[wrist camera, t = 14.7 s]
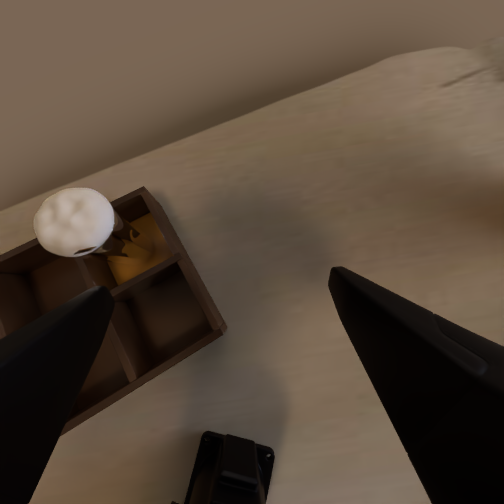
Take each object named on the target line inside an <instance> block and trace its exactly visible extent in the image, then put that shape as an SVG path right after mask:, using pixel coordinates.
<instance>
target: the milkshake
mask: <svg viewBox="0 0 504 504" xmlns="http://www.w3.org/2000/svg"><path fill="white" fill-rule="evenodd" d="M33 225H34V231H35V234H36V236H37V239H38V241H39V243H40V244H41V245H42V246H43V248H45V249H46V250H47V251H49V252H51V253H54V254H57V255H60V256H65V257H74V258H84V259H93V260H102V261H109V262H116V263H123V264H129V265H139V264H142V263H145V262H147V260H148V259H149V258H150V257H151V255H152V254H153V245H154V244H153V242H152V241H151V240H150V238H149V237H148V236H147V235H146V234H145V233H144V232H143V231H142V230H141V229H139V228H138V227H137V226H136V225H135V224H134V223H132V222H131V221H130V220H129V219H128V218H127V217H125V216H124V215H123V214H122V213H121V212H120V211H119V210H118V209H117V208H116V207H115V206H114V205H113V204H112V203H110V202H109V201H108V200H107V199H106V198H105V197H104V196H103V195H102V194H100V193H99V192H97V191H95V190H93V189H90V188H68V189H63V190H61V191H59V192H57V193H55V194H53V195H51V196H50V197H48V198H47V199H45V200H44V202H43V203H42V205H41V207H40V209H39V210H38V212H37V213H36V215H35V217H34V223H33Z"/></svg>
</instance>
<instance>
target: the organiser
mask: <svg viewBox="0 0 504 504" xmlns="http://www.w3.org/2000/svg"><path fill="white" fill-rule="evenodd" d="M110 203H112V204H113V205H114V206H115V207H116V208H117V209H118V210H119V211H120V212H121V213H122V214H123V215H124V216H125V217H127V218H128V219H129V220H130V221H131V222H132V223H134V224H135V225H136V226H137V227H138V228H139V229H141V230H142V231H143V232H144V233H145V234H146V235H147V236H148V237H149V238H150V240H151V241H152V242H153V244H154V245H153V254H152V255H151V257H150V258H149V259H148V260H147V262H145V263H142V264H139V265H129V264H123V263H116V262H109V261H102V260H93V259H84V258H74V257H65V256H60V255H57V254H54V253H51V252H49V251H47V250H46V249H45V248H43V246H42V245H41V244H40V243H39V241H38V239H37V238H35V239H33V240H31V241H29V242H27V243H25V244H23V245H21V246H19V247H16V248H14V249H12V250H10V251H8V252H6V253H4V254H2V255H0V339H2V338H3V337H5V336H7V335H9V334H10V333H12V332H14V331H16V330H17V329H19V328H21V327H23V326H24V325H26V324H28V323H30V322H32V321H33V320H35V319H37V318H39V317H40V316H42V315H44V314H46V313H47V312H49V311H51V310H53V309H55V308H56V307H58V306H60V305H62V304H63V303H65V302H67V301H69V300H70V299H72V298H74V297H76V296H78V295H79V294H81V293H83V292H85V291H86V290H88V289H90V288H92V287H94V286H107V287H108V289H109V291H110V293H111V295H112V297H113V299H114V301H115V307H114V310H113V313H112V316H111V319H110V322H109V325H108V328H107V331H106V334H105V337H104V340H103V342H102V345H101V347H100V350H99V352H98V354H97V356H96V358H95V360H94V363H93V365H92V367H91V369H90V371H89V373H88V376H87V378H86V380H85V382H84V384H83V387H82V389H81V391H80V393H79V395H78V397H77V400H76V402H75V404H74V406H73V408H72V411H71V413H70V415H69V417H68V419H67V421H66V424H65V426H64V428H63V430H62V432H61V434H60V436H61V435H63V434H65V433H66V432H68V431H69V430H71V429H73V428H74V427H76V426H77V425H79V424H81V423H82V422H84V421H85V420H87V419H89V418H90V417H92V416H94V415H95V414H97V413H98V412H100V411H102V410H103V409H105V408H106V407H108V406H110V405H111V404H113V403H114V402H116V401H118V400H119V399H121V398H122V397H124V396H126V395H127V394H129V393H130V392H132V391H134V390H135V389H137V388H138V387H140V386H142V385H143V384H145V383H146V382H148V381H150V380H151V379H153V378H154V377H156V376H158V375H159V374H161V373H162V372H164V371H166V370H167V369H169V368H170V367H172V366H174V365H175V364H177V363H178V362H180V361H182V360H183V359H185V358H187V357H188V356H190V355H191V354H193V353H195V352H196V351H198V350H199V349H201V348H203V347H204V346H206V345H207V344H209V343H211V342H212V341H214V340H215V339H217V338H219V337H220V336H222V335H223V334H224V332H225V330H226V329H227V325H226V324H225V322H224V320H223V318H222V316H221V314H220V313H219V311H218V309H217V307H216V305H215V303H214V302H213V300H212V298H211V296H210V294H209V292H208V291H207V289H206V287H205V285H204V283H203V281H202V280H201V278H200V276H199V274H198V272H197V270H196V269H195V267H194V265H193V263H192V261H191V259H190V258H189V256H188V254H187V252H186V250H185V248H184V247H183V245H182V243H181V241H180V239H179V237H178V236H177V234H176V232H175V230H174V228H173V226H172V225H171V223H170V221H169V219H168V217H167V215H166V214H165V212H164V210H163V208H162V206H161V205H160V204H159V202H158V201H157V200H156V199H155V198H154V197H153V196H152V195H151V194H150V192H149V191H148V190H147V189H146V188H145V187H144V186H143V187H141V188H139V189H137V190H135V191H133V192H131V193H129V194H127V195H125V196H122V197H120V198H118V199H116V200H114V201H112V202H110Z"/></svg>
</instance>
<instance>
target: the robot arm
mask: <svg viewBox="0 0 504 504" xmlns="http://www.w3.org/2000/svg"><path fill="white" fill-rule="evenodd" d="M328 287H329V290H330V293H331V296H332V298H333V301H334V304H335V307H336V309H337V312H338V315H339V317H340V320H341V322H342V324H343V326H344V328H345V330H346V332H347V334H348V336H349V338H350V340H351V342H352V344H353V346H354V348H355V350H356V352H357V354H358V356H359V358H360V360H361V362H362V364H363V366H364V368H365V370H366V372H367V374H368V376H369V378H370V380H371V382H372V384H373V386H374V388H375V390H376V392H377V394H378V396H379V398H380V400H381V402H382V404H383V406H384V408H385V410H386V412H387V414H388V416H389V418H390V420H391V422H392V424H393V426H394V428H395V430H396V432H397V434H398V436H399V438H400V440H401V442H402V444H403V446H404V448H405V450H406V452H407V453H408V457H409V459H410V461H411V463H412V465H413V467H414V469H415V471H416V473H417V475H418V477H419V479H420V481H421V483H422V485H423V487H424V489H425V491H426V493H427V495H428V497H429V499H430V501H431V503H432V504H504V346H501V345H499V344H497V343H495V342H493V341H490V340H488V339H486V338H484V337H482V336H480V335H477V334H475V333H473V332H471V331H469V330H467V329H465V328H463V327H461V326H459V325H456V324H454V323H452V322H450V321H448V320H446V319H444V318H443V317H441V316H439V315H437V314H433V313H432V312H431V311H429V310H427V309H425V308H423V307H421V306H419V305H417V304H415V303H413V302H411V301H409V300H407V299H405V298H403V297H401V296H399V295H397V294H395V293H393V292H391V291H389V290H387V289H386V288H384V287H382V286H380V285H378V284H376V283H374V282H372V281H370V280H368V279H366V278H364V277H362V276H360V275H358V274H356V273H354V272H352V271H350V270H348V269H346V268H344V267H342V266H339V267H332V268H331V271H330V276H329V281H328ZM114 307H115V301H114V299H113V297H112V295H111V293H110V291H109V289H108V287H107V286H94V287H92V288H90V289H88V290H86V291H85V292H83V293H81V294H79V295H78V296H76V297H74V298H72V299H70V300H69V301H67V302H65V303H63V304H62V305H60V306H58V307H56V308H55V309H53V310H51V311H49V312H47V313H46V314H44V315H42V316H40V317H39V318H37V319H35V320H33V321H32V322H30V323H28V324H26V325H24V326H23V327H21V328H19V329H17V330H16V331H14V332H12V333H10V334H9V335H7V336H5V337H3V338H2V339H0V504H28V503H29V502H30V500H31V498H32V495H33V493H34V491H35V489H36V487H37V485H38V482H39V480H40V478H41V476H42V474H43V472H44V469H45V467H46V465H47V463H48V461H49V458H50V456H51V454H52V452H53V450H54V448H55V445H56V443H57V441H58V439H59V437H60V434H61V432H62V430H63V428H64V426H65V424H66V421H67V419H68V417H69V415H70V413H71V411H72V408H73V406H74V404H75V402H76V400H77V397H78V395H79V393H80V391H81V389H82V387H83V384H84V382H85V380H86V378H87V376H88V373H89V371H90V369H91V367H92V365H93V363H94V360H95V358H96V356H97V354H98V352H99V350H100V347H101V345H102V342H103V340H104V337H105V334H106V331H107V328H108V325H109V322H110V319H111V316H112V313H113V310H114ZM206 437H208V438H209V439H210V440H209V441H206V440H205V438H206ZM267 454H271V456H270V457H266V455H267ZM274 459H275V456H274V451H273V449H272V448H270V447H267V446H263V445H259V444H255V442H254V441H252V440H248V439H244V438H240V437H237V436H233V435H229V434H227V435H222V434H218V433H214V432H211V431H206V432H204V433H203V435H202V438H201V441H200V445H199V449H198V453H197V457H196V460H195V464H194V468H193V472H192V476H191V479H190V483H189V487H188V491H187V495H186V498H185V502H184V504H266V500H267V495H268V490H269V485H270V479H271V474H272V469H273V464H274ZM171 504H179V503H176V502H174V501H172V502H171Z"/></svg>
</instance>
